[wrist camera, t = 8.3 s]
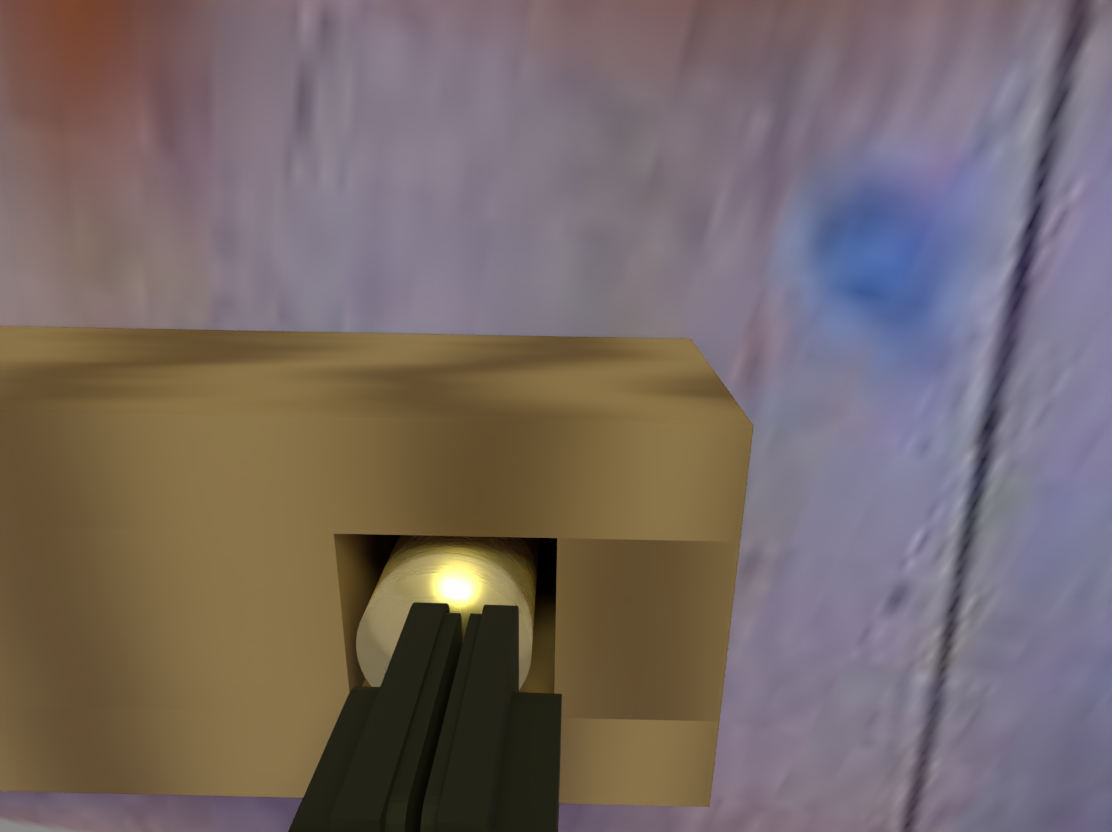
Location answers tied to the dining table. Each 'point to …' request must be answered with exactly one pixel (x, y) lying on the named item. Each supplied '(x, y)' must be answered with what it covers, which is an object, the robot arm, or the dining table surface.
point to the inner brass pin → (448, 590)
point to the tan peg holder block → (350, 544)
